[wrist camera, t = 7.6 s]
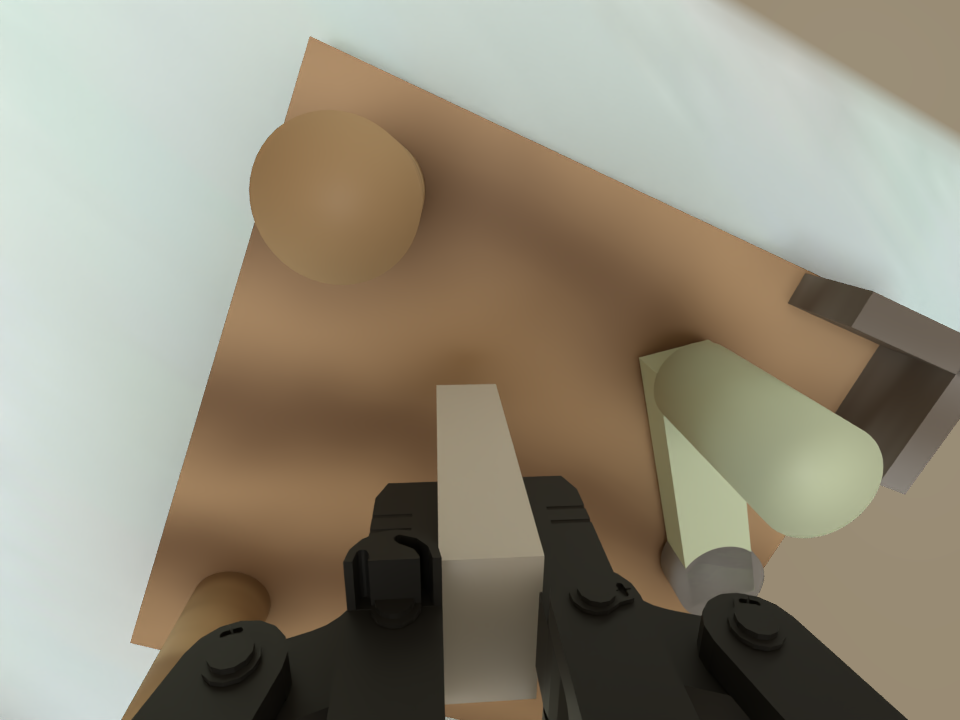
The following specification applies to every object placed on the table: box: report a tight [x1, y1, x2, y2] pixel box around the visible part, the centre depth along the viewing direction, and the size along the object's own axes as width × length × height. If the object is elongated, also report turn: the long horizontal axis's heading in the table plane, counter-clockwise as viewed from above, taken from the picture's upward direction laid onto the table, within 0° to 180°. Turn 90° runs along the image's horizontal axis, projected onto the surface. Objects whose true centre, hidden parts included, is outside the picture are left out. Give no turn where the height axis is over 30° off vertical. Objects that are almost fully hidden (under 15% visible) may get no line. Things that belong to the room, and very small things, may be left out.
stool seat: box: [121, 37, 960, 720], centre depth 17 cm, size 22×22×10 cm
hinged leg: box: [639, 340, 883, 616], centre depth 17 cm, size 11×3×7 cm, turn 14°
